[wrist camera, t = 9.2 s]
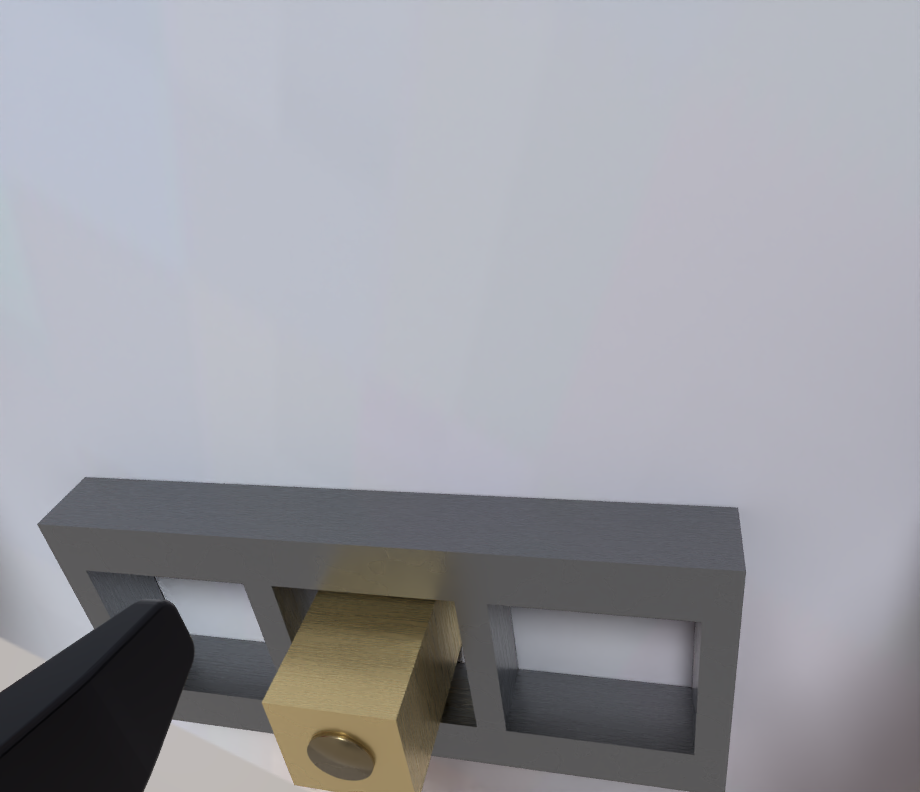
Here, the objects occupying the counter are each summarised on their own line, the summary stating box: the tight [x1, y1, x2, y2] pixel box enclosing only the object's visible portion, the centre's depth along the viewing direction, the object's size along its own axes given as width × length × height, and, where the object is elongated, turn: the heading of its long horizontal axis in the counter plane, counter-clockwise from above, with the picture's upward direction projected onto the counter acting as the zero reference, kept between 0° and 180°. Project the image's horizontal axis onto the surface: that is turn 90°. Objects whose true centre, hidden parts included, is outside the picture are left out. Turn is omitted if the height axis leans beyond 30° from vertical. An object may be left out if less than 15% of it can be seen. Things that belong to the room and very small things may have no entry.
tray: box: [37, 477, 746, 792], centre depth 26 cm, size 22×10×2 cm, turn 96°
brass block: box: [262, 590, 462, 792], centre depth 24 cm, size 4×4×6 cm
